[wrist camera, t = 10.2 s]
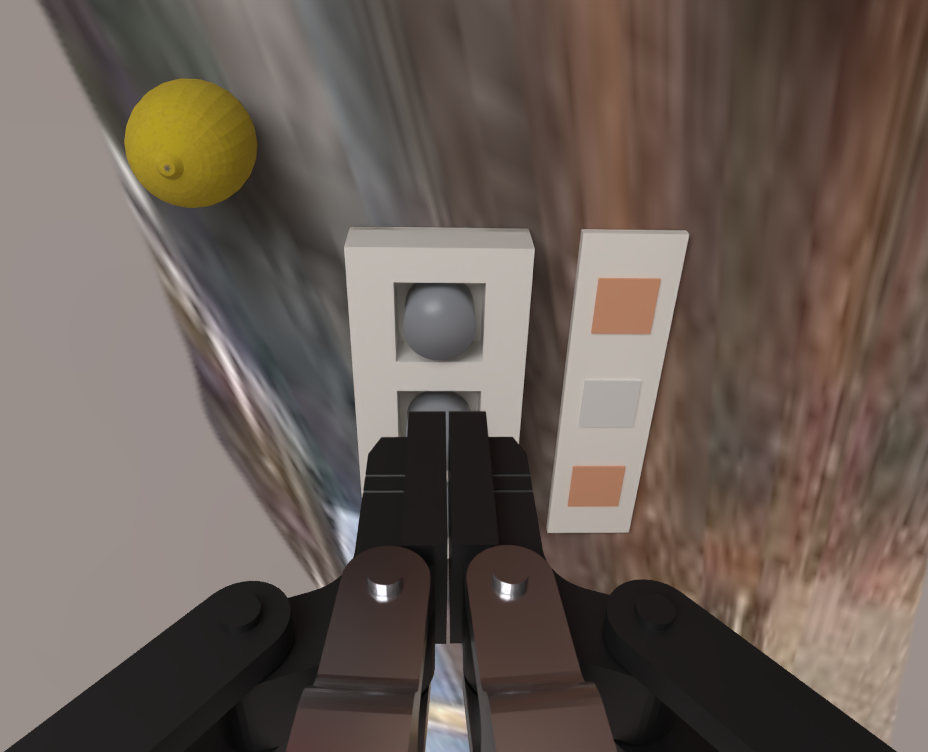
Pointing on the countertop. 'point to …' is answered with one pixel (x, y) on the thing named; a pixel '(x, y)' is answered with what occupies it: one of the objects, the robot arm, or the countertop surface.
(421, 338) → the button near
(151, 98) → the lemon
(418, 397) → the button middle
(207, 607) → the robot arm
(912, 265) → the countertop surface
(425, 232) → the button panel
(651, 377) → the pattern card
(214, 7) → the countertop surface
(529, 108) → the countertop surface
